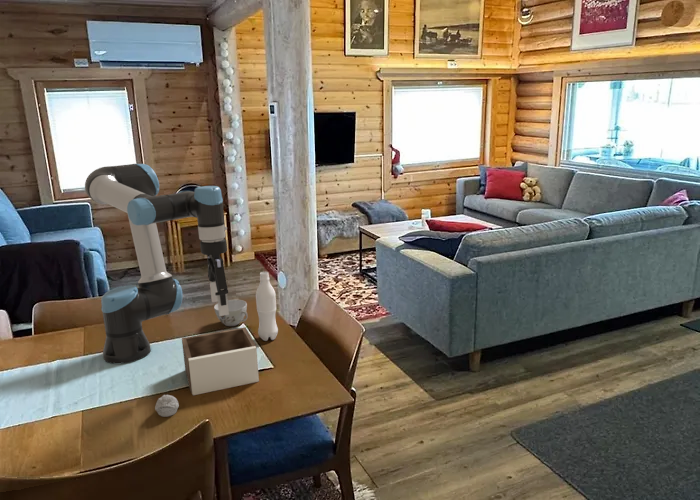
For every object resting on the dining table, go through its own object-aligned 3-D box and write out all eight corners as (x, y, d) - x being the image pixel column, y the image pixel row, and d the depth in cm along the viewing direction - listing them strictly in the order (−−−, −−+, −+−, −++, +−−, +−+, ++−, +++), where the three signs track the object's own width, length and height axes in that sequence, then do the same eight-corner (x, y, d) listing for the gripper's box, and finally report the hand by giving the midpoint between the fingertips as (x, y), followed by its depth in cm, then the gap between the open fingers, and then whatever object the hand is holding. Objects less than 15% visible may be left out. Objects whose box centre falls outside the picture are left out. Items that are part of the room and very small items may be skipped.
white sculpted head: (154, 425, 141) (151, 402, 139) (159, 411, 148) (156, 389, 146) (178, 423, 142) (175, 400, 140) (181, 409, 149) (179, 387, 147)
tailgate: (192, 395, 153) (188, 360, 150) (192, 393, 154) (188, 358, 152) (258, 381, 160) (256, 347, 157) (257, 379, 162) (255, 345, 159)
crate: (191, 397, 155) (187, 358, 152) (185, 374, 169) (181, 338, 166) (258, 383, 162) (256, 345, 159) (248, 362, 176) (245, 327, 173)
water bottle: (281, 335, 197) (277, 270, 191) (272, 343, 190) (268, 276, 184) (264, 333, 199) (260, 269, 193) (255, 340, 193) (250, 275, 186)
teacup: (208, 325, 208) (207, 306, 206) (232, 315, 218) (231, 297, 216) (235, 333, 199) (233, 313, 197) (259, 322, 209) (257, 303, 207)
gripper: (234, 246, 145) (241, 318, 150) (218, 230, 168) (225, 294, 173) (206, 249, 143) (214, 323, 148) (194, 233, 165) (201, 298, 170)
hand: (220, 308), depth 160 cm, fingers open, 13 cm apart
